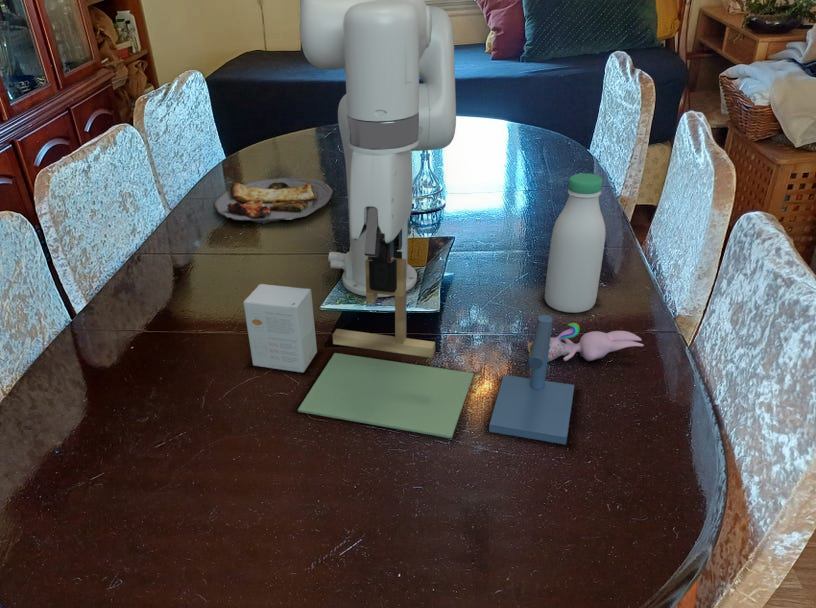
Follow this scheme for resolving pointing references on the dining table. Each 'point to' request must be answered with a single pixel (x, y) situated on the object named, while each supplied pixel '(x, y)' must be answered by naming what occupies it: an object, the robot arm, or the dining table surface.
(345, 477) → the dining table surface
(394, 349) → the hanger
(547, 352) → the rail stand
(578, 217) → the milk bottle
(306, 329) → the small box
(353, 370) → the mat
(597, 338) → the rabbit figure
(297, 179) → the food plate
